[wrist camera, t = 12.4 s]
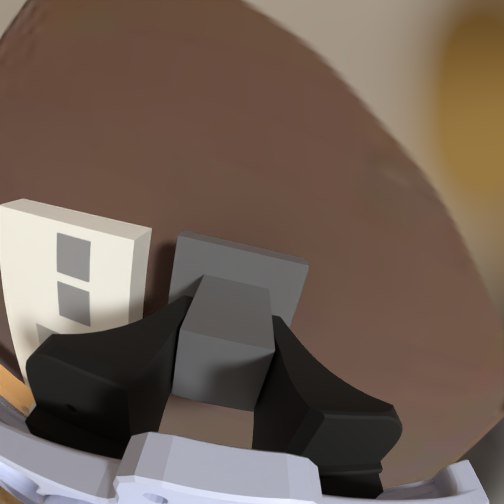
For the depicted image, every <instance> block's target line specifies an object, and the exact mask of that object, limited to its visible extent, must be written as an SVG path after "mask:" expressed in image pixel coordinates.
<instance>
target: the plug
mask: <svg viewBox="0 0 504 504" xmlns="http://www.w3.org/2000/svg"><path fill="white" fill-rule="evenodd" d="M308 269H309V264H308V262H307V260H306V258H302V257H297V256H293V255H289V254H285V253H280V252H276V251H272V250H267V249H263V248H259V247H255V246H250V245H246V244H242V243H237V242H233V241H229V240H224V239H220V238H216V237H211V236H207V235H203V234H198V233H194V232H190V231H185V230H183V231H182V232H181V233H180V234H179V235H178V239H177V245H176V251H175V258H174V264H173V271H172V277H171V284H170V292H169V299H168V304H170V303H171V302H173V301H174V300H176V299H178V298H179V297H181V296H182V295H187V296H191V297H194V299H193V301H192V303H191V305H190V308H189V310H188V312H187V314H186V317H185V319H184V321H183V324H182V326H181V328H180V333H179V340H178V348H177V355H176V363H175V372H174V380H173V389H172V395H175V396H179V397H183V398H187V399H191V400H195V401H200V402H204V403H209V404H214V405H218V406H223V407H229V408H234V409H240V410H246V411H252V412H253V409H254V407H255V404H256V401H257V399H258V396H259V393H260V391H261V388H262V385H263V383H264V380H265V377H266V374H267V372H268V369H269V366H270V363H271V360H272V357H273V355H274V352H275V343H274V333H273V323H272V315H275V316H280V317H281V318H282V319H283V321H284V322H285V323H286V325H287V326H288V327H290V324H291V321H292V318H293V316H294V313H295V310H296V307H297V304H298V301H299V298H300V294H301V291H302V288H303V285H304V282H305V279H306V276H307V273H308Z"/></svg>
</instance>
